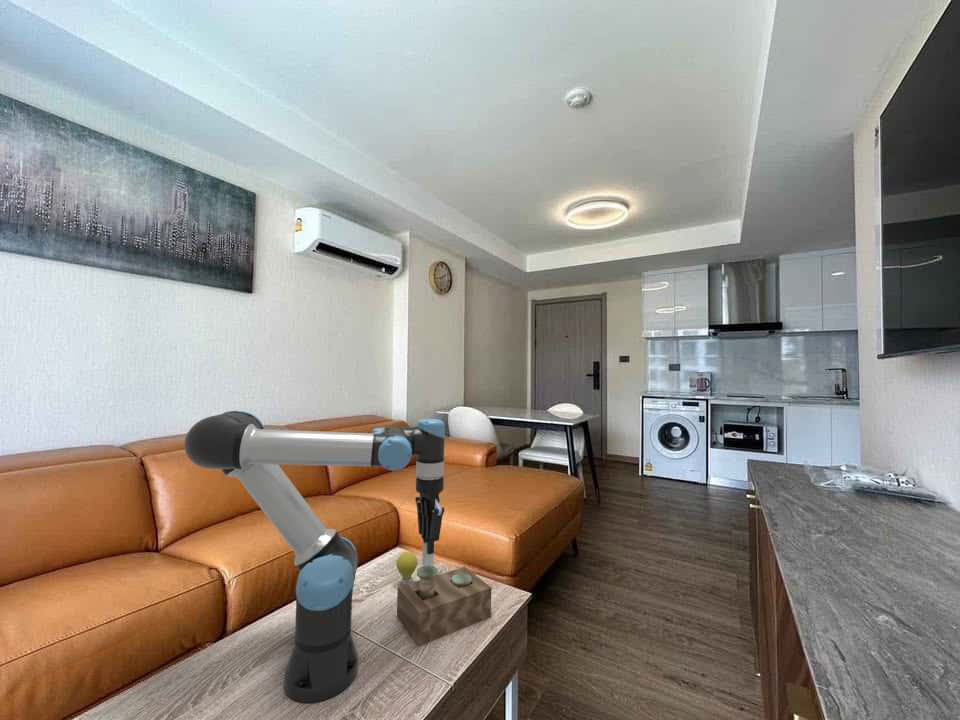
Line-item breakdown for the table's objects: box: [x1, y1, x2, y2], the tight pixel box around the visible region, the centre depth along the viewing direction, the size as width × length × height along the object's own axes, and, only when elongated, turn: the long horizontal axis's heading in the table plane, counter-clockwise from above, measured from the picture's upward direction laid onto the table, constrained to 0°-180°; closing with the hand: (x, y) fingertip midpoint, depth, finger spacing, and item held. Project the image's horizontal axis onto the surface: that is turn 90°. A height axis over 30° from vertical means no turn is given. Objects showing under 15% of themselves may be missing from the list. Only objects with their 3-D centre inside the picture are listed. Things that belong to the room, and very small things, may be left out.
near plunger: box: [416, 565, 439, 600], centre depth 106 cm, size 6×6×8 cm
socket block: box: [396, 566, 492, 647], centre depth 109 cm, size 22×14×8 cm, turn 124°
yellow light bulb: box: [395, 551, 419, 586], centre depth 125 cm, size 7×7×10 cm
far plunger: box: [452, 573, 471, 588], centre depth 112 cm, size 6×6×8 cm
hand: (427, 564), depth 106 cm, fingers closed
